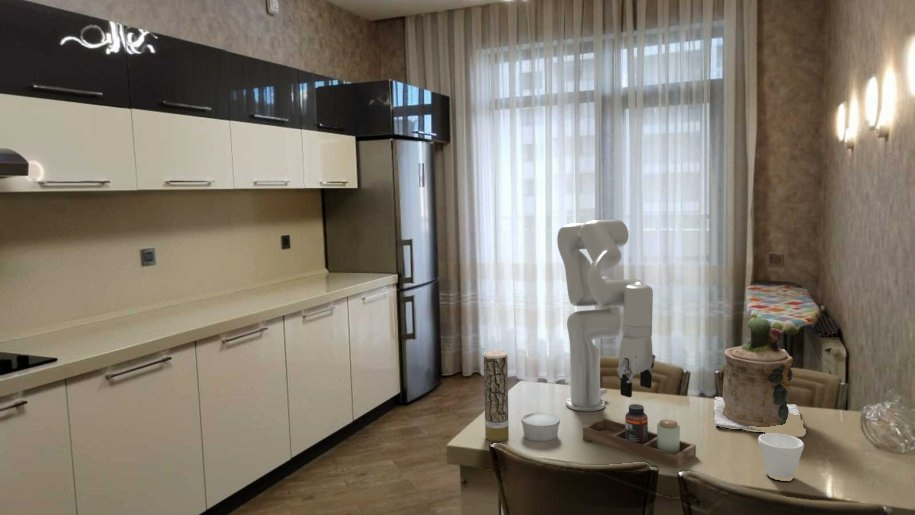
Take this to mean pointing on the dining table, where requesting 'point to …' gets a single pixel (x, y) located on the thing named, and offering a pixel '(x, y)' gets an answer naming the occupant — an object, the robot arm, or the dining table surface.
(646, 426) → the supplement bottle
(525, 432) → the ramekin
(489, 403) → the bark-patterned cylinder
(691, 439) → the dining table surface
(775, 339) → the cookie jar
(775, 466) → the cup
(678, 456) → the rack
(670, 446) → the sage jar
